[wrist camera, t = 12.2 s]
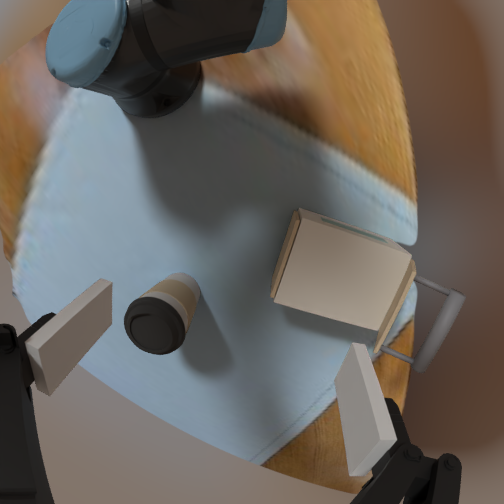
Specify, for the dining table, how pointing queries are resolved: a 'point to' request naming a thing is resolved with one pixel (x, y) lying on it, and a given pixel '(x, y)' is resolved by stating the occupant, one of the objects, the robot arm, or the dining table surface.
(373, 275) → the carton
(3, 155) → the dining table surface
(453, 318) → the drawer with bar handle
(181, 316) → the coffee cup
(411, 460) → the robot arm
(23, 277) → the dining table surface
